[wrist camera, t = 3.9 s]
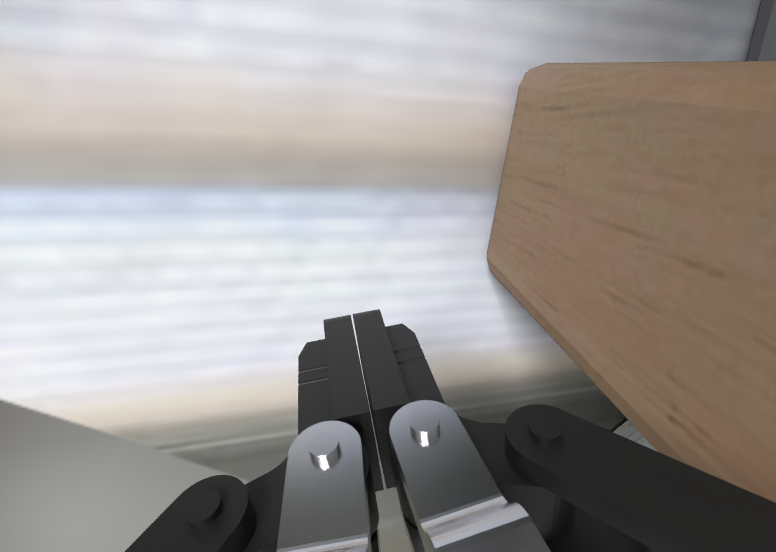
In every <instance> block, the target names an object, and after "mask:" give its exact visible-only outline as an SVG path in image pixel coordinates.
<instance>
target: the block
mask: <svg viewBox="0 0 776 552" xmlns="http://www.w3.org/2000/svg"><path fill="white" fill-rule="evenodd" d="M487 260H488V264H489V268H490V271H491V272H492V273H493V274H494V275H495V276H496V277H497V279H498V280H499V281H500V282H501V283H502V284H503V285H504V286H505V287H506V288H507V289H508V290H509V292H510V293H511V294H512V295H513V296H514V297H515V298H516V299H517V300H518V301H519V302H520V303H521V304H522V306H523V307H524V308H525V309H526V310H527V311H528V312H529V313H530V314H531V315H532V316H533V317H534V319H535V320H536V321H537V322H538V323H539V324H540V325H541V326H542V327H543V328H544V329H545V330H546V331H547V333H548V334H549V335H550V336H551V337H552V338H553V339H554V340H555V341H556V342H557V343H558V344H559V345H560V347H561V348H562V349H563V350H564V351H565V352H566V353H567V354H568V355H569V356H570V357H571V358H572V360H573V361H574V362H575V363H576V364H577V365H578V366H579V367H580V368H581V369H582V370H583V371H584V372H585V374H586V375H587V376H588V377H589V378H590V379H591V380H592V381H593V382H594V383H595V384H596V385H597V387H598V388H599V389H600V390H601V391H602V392H603V393H604V394H605V395H606V396H607V397H608V398H609V399H610V401H611V402H612V403H613V404H614V405H615V406H616V407H617V408H618V409H619V410H620V411H621V412H622V414H623V415H624V416H625V417H626V418H627V419H628V420H629V421H630V422H631V423H632V424H633V425H634V426H635V428H636V429H637V430H638V431H639V432H640V433H641V434H642V435H643V436H644V437H645V438H646V439H647V440H648V442H649V443H650V444H651V445H652V446H653V447H654V448H655V449H656V450H657V451H658V452H660V453H662V454H664V455H667V456H669V457H671V458H673V459H676V460H678V461H680V462H683V463H685V464H687V465H690V466H692V467H694V468H697V469H699V470H701V471H703V472H706V473H708V474H710V475H713V476H715V477H717V478H720V479H722V480H724V481H727V482H729V483H731V484H733V485H736V486H738V487H740V488H743V489H745V490H747V491H750V492H752V493H754V494H757V495H759V496H761V497H763V498H766V499H768V500H770V501H773V502H775V503H776V61H743V62H634V63H547V64H544V65H541V66H539V67H536V68H533V69H530V70H529V71H528V72H527V73H526V74H525V76H524V78H523V80H522V82H521V84H520V86H519V90H518V95H517V100H516V106H515V111H514V116H513V121H512V126H511V132H510V137H509V142H508V147H507V152H506V157H505V163H504V168H503V173H502V178H501V183H500V188H499V194H498V199H497V204H496V209H495V214H494V220H493V225H492V230H491V235H490V240H489V245H488V251H487Z"/></svg>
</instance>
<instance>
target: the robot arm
mask: <svg viewBox="0 0 776 552" xmlns="http://www.w3.org/2000/svg"><path fill="white" fill-rule="evenodd" d="M353 319H354V325H355V330H356V336H357V342H358V348H359V353H360V359H361V364H362V369H361V364H360V360H359V355H358V350H357V345H356V340H355V335H354V330H353V325H352V320H351V315H347V316H342V317H337V318H332V319H326V320H324V331H325V339H323V340H318V341H313V342H308V343H306V345H305V346H304V348H303V350H302V352H301V353H300V355H299V369H298V371H299V374H298V383H299V386H298V436H297V438H296V439H295V440H294V441H293V443H292V445H291V447H290V449H289V453H288V457H287V458H286V459H285V460H284V461H283V462H282V463H281V464H280V465H279V466H277V467H276V468H275V469H273V470H271V471H270V472H268V473H266V474H264V475H263V476H261V477H259V478H257V479H255V480H253V481H251V482H249V483H247V484H246V485H244V484H243V483H242V482H241V481H240V480H239V479H237V478H236V477H233V476H229V475H217V476H212V477H209V478H206V479H203V480H201V481H199V482H197V483H195V484H194V485H192V486H191V487H189V488H188V489H187V490H185V491H184V492H183V493H182V494H181V495H180V496H179V497H178V498H177V499H176V500H175V501H174V502H173V503H172V504H171V505H170V506H169V507H168V508H167V509H166V510H165V511H164V512H163V513H162V514H161V515H160V516H159V517H158V518H157V519H156V520H155V521H154V522H153V523H152V524H151V525H150V526H149V527H148V528H147V529H146V531H144V532H143V533H142V534H141V536H139V538H138V539H137V540H136V541H135V542H134V543H133V544H132V545H131V546H130V547H129V548H128V549H127V550H126V551H125V552H381V551H380V540H379V530H378V521H379V513H378V507H377V501H376V495H375V492H376V491H381V490H384V489H383V483H382V477H381V471H380V466H379V460H378V454H377V449H376V443H375V437H374V431H373V426H372V420H371V415H372V419H373V424H374V429H375V434H376V439H377V444H378V449H379V454H380V459H381V463H382V468H383V473H384V478H385V483H386V488H387V489H388V488H392V487H396V488H397V492H398V497H399V501H400V506H401V513H402V519H403V524H404V527H405V531H406V534H407V537H408V540H409V543H410V547H411V550H412V552H776V503H775V502H773V501H770V500H768V499H766V498H763V497H761V496H759V495H757V494H754V493H752V492H750V491H747V490H745V489H743V488H740V487H738V486H736V485H733V484H731V483H729V482H727V481H724V480H722V479H720V478H717V477H715V476H713V475H710V474H708V473H706V472H703V471H701V470H699V469H697V468H694V467H692V466H690V465H687V464H685V463H683V462H680V461H678V460H676V459H673V458H671V457H669V456H667V455H664V454H662V453H660V452H657V451H655V450H653V449H650V448H648V447H646V446H643V445H641V444H639V443H637V442H634V441H632V440H630V439H627V438H625V437H623V436H620V435H618V434H616V433H613V432H611V431H609V430H607V429H604V428H602V427H600V426H597V425H595V424H593V423H590V422H588V421H586V420H583V419H581V418H579V417H576V416H574V415H572V414H570V413H567V412H565V411H563V410H560V409H558V408H555V407H552V406H548V405H540V404H534V405H527V406H523V407H521V408H519V409H517V410H515V411H514V412H513V413H512V414H511V415H510V416H509V418H508V419H507V422H506V424H500V423H481V422H474V421H470V420H467V419H464V418H462V417H460V416H458V415H457V414H456V413H455V412H454V411H453V410H452V409H451V408H450V407H448V406H447V405H446V404H445V402H444V400H443V398H442V396H441V394H440V391H439V389H438V387H437V384H436V382H435V380H434V377H433V375H432V373H431V370H430V368H429V366H428V363H427V361H426V359H425V356H424V354H423V352H422V349H421V348H420V345H419V342H418V340H417V338H416V335H415V333H414V332H413V331H411V330H410V329H409V328H407V327H406V326H405V325H403V324H398V325H393V326H388V327H385V325H384V322H383V318H382V315H381V312H380V310H379V309H378V310H372V311H367V312H362V313H357V314H353ZM362 370H363V374H362ZM363 375H364V379H363ZM364 380H365V384H364ZM365 385H366V389H365ZM366 390H367V394H366ZM367 395H368V399H367ZM368 400H369V404H368ZM369 405H370V409H369ZM370 410H371V414H370Z"/></svg>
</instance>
